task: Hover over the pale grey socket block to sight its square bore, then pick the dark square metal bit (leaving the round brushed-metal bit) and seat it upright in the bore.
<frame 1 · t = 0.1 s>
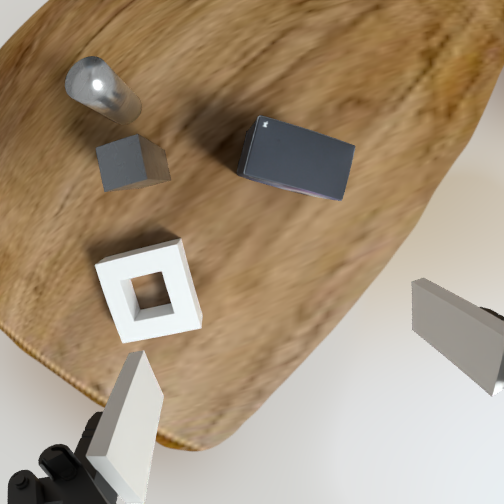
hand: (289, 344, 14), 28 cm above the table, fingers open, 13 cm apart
socket block: (152, 287, 41), on the table
round bit: (125, 108, 36), on the table
square bit: (152, 169, 38), on the table
small box: (280, 163, 40), on the table
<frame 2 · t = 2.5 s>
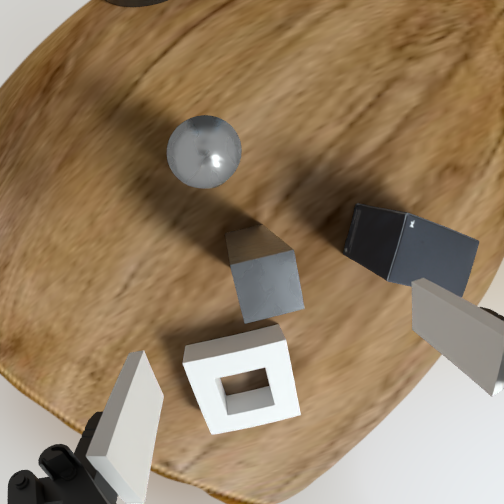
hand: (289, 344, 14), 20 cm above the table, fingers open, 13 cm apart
socket block: (242, 373, 36), on the table
round bit: (209, 167, 31), on the table
square bit: (247, 247, 33), on the table
small box: (384, 240, 35), on the table
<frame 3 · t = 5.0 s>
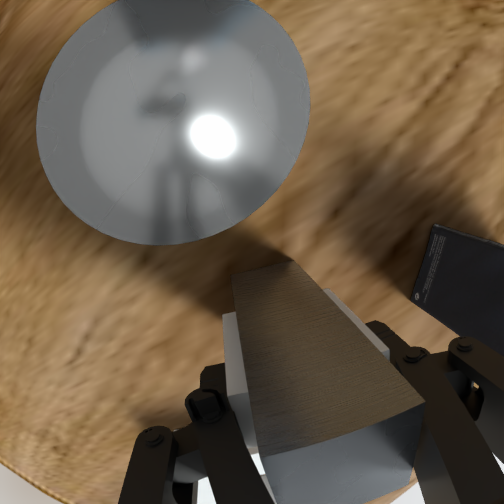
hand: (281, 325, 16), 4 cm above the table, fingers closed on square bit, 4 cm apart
socket block: (255, 459, 23), on the table
round bit: (203, 161, 18), on the table
square bit: (268, 297, 20), on the table, touching gripper
small box: (461, 275, 22), on the table
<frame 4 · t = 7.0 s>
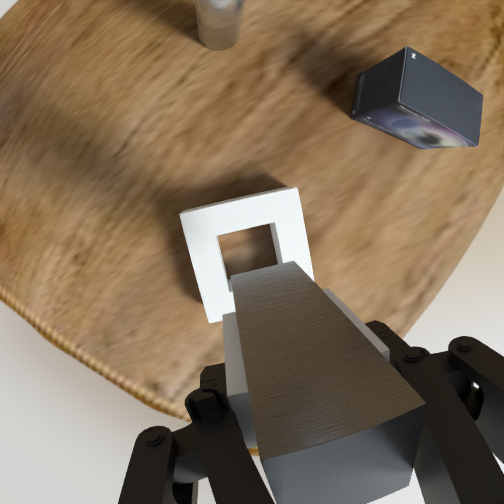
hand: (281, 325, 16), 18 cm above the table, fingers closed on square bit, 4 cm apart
socket block: (247, 248, 34), on the table
round bit: (218, 33, 28), on the table
square bit: (268, 298, 20), point 14 cm above the table, touching gripper
small box: (391, 113, 32), on the table
when the fingers open (5 cm above the table, at t = 9.1 s): square bit drops 1 cm, resting in socket block.
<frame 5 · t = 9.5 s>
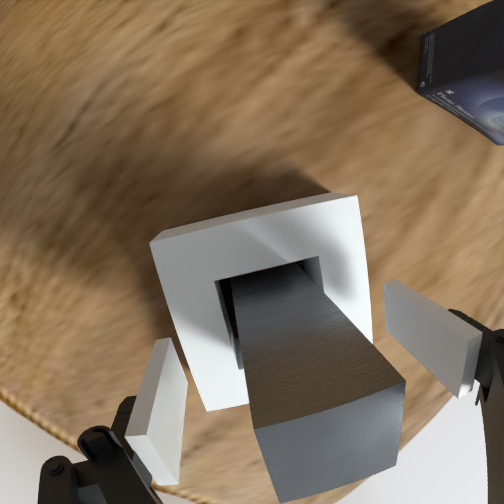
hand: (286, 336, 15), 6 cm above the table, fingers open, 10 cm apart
socket block: (266, 292, 21), on the table
square bit: (265, 292, 21), resting in socket block
small box: (463, 92, 19), on the table
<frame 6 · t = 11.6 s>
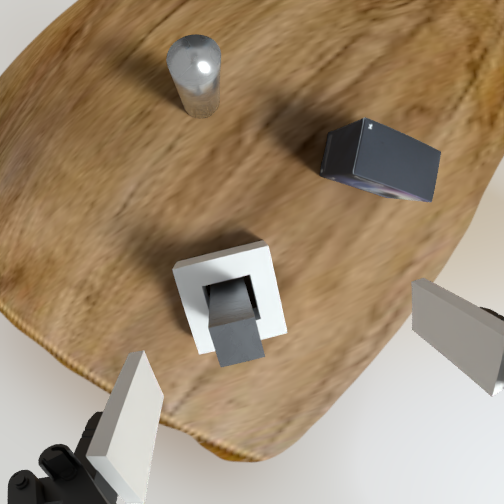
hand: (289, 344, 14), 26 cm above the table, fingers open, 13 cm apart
socket block: (230, 292, 40), on the table
round bit: (201, 101, 35), on the table
square bit: (230, 292, 40), resting in socket block
small box: (358, 166, 39), on the table
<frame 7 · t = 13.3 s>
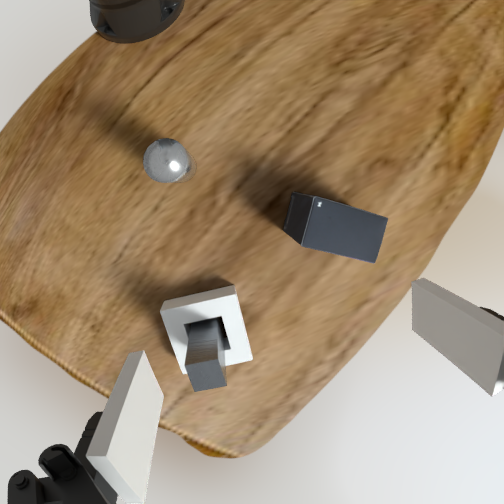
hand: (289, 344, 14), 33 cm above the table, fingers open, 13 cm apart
socket block: (208, 325, 48), on the table
round bit: (181, 167, 43), on the table
square bit: (208, 325, 48), resting in socket block
small box: (319, 220, 47), on the table
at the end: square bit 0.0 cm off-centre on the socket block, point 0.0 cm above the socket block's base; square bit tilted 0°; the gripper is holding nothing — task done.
